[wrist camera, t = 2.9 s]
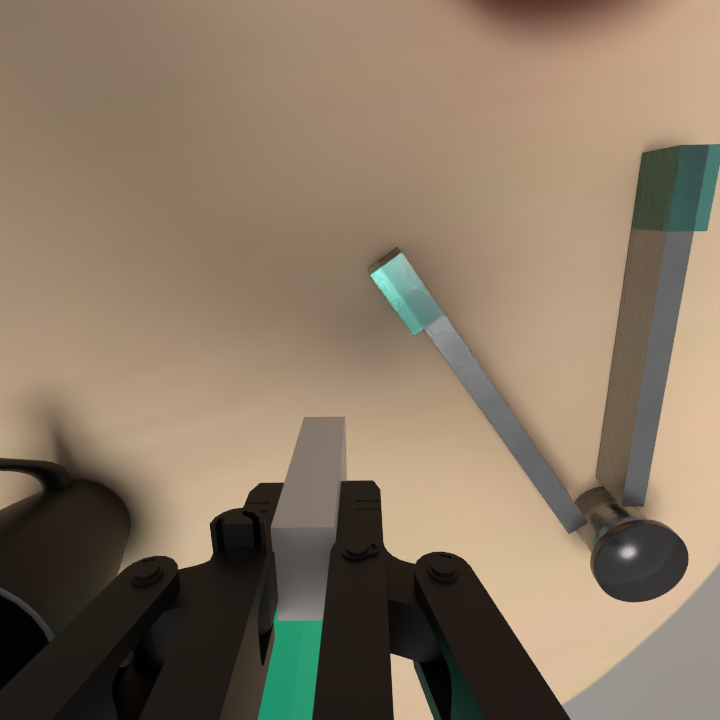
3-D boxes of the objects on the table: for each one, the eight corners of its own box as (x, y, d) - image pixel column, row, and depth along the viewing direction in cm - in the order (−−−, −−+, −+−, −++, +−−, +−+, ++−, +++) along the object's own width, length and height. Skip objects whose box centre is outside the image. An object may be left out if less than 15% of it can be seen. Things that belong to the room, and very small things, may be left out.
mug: (121, 394, 27) (2, 486, 18) (165, 567, 31) (83, 715, 22) (-19, 406, 28) (-204, 502, 19) (40, 576, 31) (-91, 726, 22)
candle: (221, 614, 32) (144, 838, 21) (271, 554, 31) (217, 760, 19) (295, 655, 33) (261, 891, 22) (347, 600, 32) (339, 820, 20)
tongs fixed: (633, 544, 30) (679, 601, 26) (557, 545, 30) (590, 602, 26) (704, 151, 24) (782, 138, 19) (605, 153, 24) (661, 140, 19)
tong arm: (566, 492, 29) (588, 523, 26) (540, 507, 30) (559, 539, 27) (397, 247, 25) (401, 252, 22) (369, 267, 25) (370, 275, 22)
